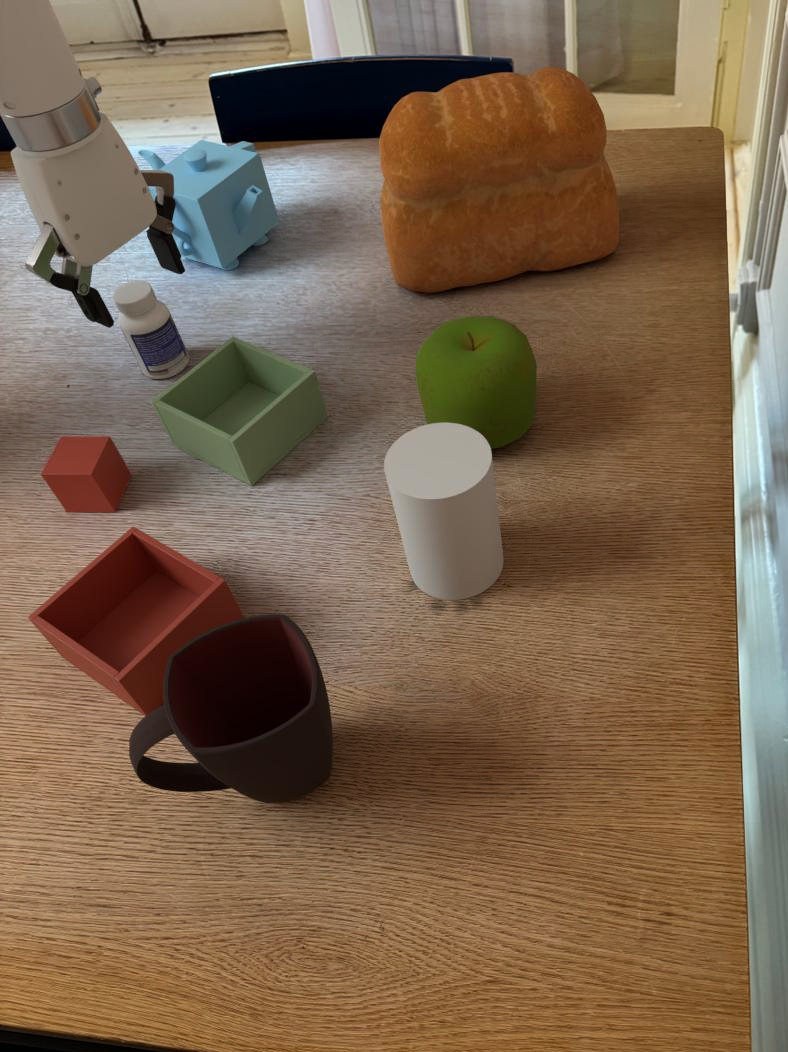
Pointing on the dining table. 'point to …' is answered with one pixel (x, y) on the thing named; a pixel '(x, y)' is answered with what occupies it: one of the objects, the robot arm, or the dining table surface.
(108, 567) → the brick bin
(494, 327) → the apple
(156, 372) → the pill bottle
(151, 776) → the mug
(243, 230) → the teapot
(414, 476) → the white solid cylinder
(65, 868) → the dining table surface
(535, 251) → the bread
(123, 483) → the red block
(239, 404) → the sage bin
